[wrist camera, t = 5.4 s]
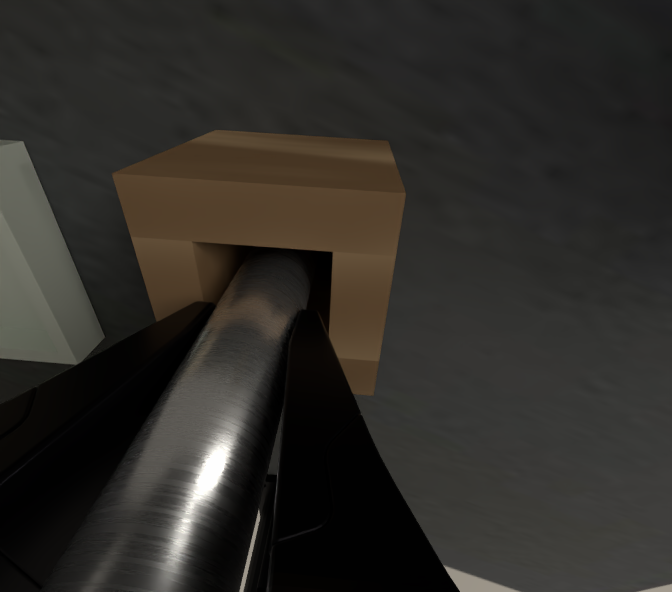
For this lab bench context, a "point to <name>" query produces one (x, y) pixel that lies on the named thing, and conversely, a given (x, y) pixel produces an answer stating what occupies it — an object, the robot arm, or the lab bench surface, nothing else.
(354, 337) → the bored oak block
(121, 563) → the rod
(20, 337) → the tray
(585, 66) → the lab bench surface
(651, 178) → the lab bench surface
